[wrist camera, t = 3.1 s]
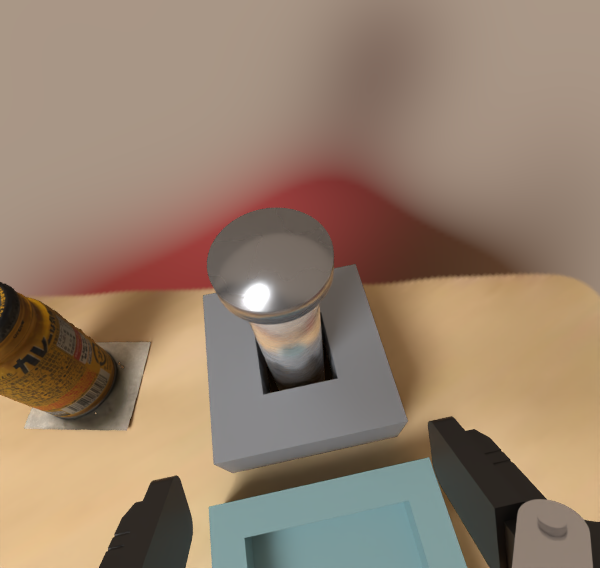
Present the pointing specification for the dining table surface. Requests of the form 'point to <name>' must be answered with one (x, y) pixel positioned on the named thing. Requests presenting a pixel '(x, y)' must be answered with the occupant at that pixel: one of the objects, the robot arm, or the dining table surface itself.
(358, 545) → the tray
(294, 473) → the dining table surface
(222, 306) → the socket block
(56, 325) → the condiment
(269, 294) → the steel pin
